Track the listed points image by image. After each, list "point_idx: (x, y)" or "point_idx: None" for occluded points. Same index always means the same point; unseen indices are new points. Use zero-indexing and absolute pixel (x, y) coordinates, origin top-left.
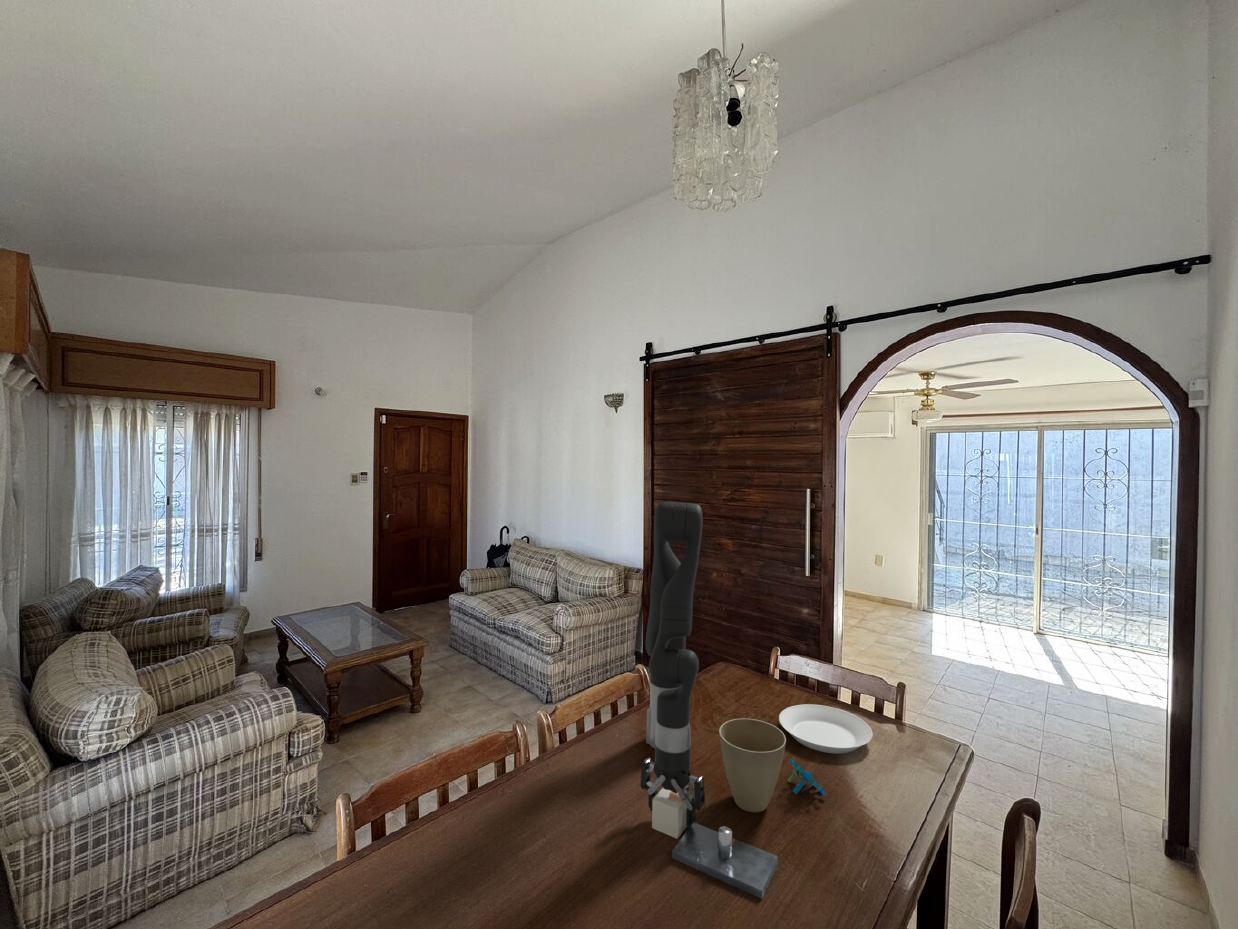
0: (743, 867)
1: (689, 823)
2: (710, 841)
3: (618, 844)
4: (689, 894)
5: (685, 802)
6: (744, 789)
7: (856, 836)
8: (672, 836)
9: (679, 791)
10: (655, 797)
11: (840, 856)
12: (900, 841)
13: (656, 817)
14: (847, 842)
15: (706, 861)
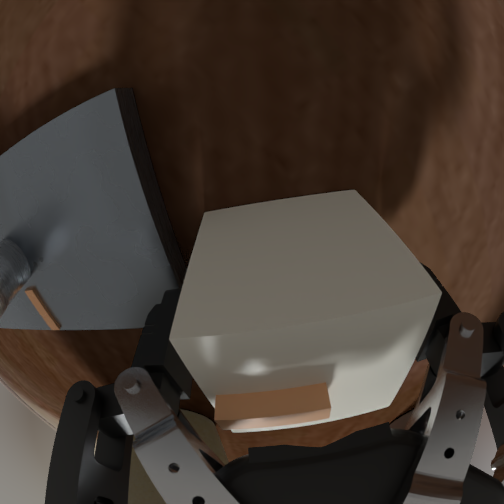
0: None
1: (163, 303)
2: (68, 278)
3: (407, 5)
4: (4, 42)
5: (159, 407)
6: (137, 459)
7: (44, 402)
8: (233, 208)
9: (187, 490)
10: (424, 322)
11: (13, 369)
12: (30, 404)
13: (354, 223)
14: (36, 392)
15: (3, 180)
